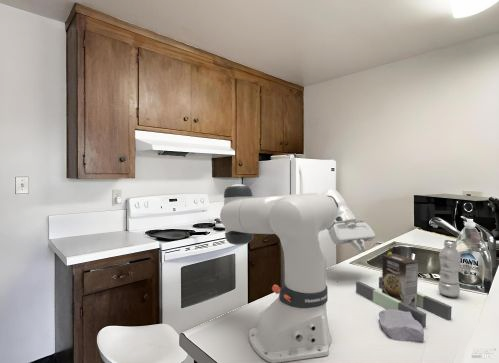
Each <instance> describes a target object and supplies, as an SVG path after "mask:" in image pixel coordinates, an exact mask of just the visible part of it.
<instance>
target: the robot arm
mask: <svg viewBox="0 0 499 363" xmlns="http://www.w3.org/2000/svg"><path fill="white" fill-rule="evenodd" d="M253 196H254V195H253V192H252V189H251V188H250V186H248V185H245V184H243V183H242V184H241V183H235V184H231V185H229V186H227V187H226V188H225V189H224V193H223V198H224V200H223V206H222V207H221V209H220V215H219V216H220V218H219V219H220V222H221V225H222V226H223V227H224V230H225V231H224V236H225V239H226V241H227V242H228V243H229V244H232V245H234V246H244V245H247V244H249V243H251V242H252V241H253V240H254V235H255V234H260V235H262V234H263V235H273V234H274V235H276V236H277V237H278V238H279V240H280V244H281V247H282V249H283V251H282V252H283V256H284V257H283V258H284V282H283V284H282V287H281V286H279V285H278V284H273V285H272V287H271V290H272V292H274V293H275V294H276V295H278V297H277V298H276V299H275V300H273V302H271V303H270V304H269V306H267V307H266V308H265V309H264V310H263V311H262V312H260V314H259V316H258V320H257V326H256V327H253V328H251V329H249V332H248V341H249V343H250V346H251V348H253V350H254V352H255V353H256V354H257V355H258V356H259V357H260V358H262V359H263V360H265V361H266V362H268V363H284V362H292V361H299V360H304V359H312V358H313V359H314V358H318V357H319V358H320V357H327V356H328V355H329V353H330V351H329V346H330V345H331V344H332V334H331V330H330V326H329V322H328V320H329V319H328V314H327V310H328V309H327V302H328V297H329V296H328V294H329V293H328V285H327V258H326V255H325V253H323V252H322V249H321V246H320V240H319V233H320V232H322V231H324V230H327V231H328V235H329V237H330V239H331V241H332V243H334V244H335V245H345V244H350V245H351V246H352V247H353V248H355V249H356V251H357V252H359V253H360V252H366V250H367V249H366V246H365V242H371V241H373V240H374V239H375V238H376V233H375V231H374V230H373V228H372V227H371V226H370V225H369V224H368V223H367V222H364V221H363V220H357V218H356V216H355V214H354V213H353V212H352V210H351V209H350V208H349V207H348V203H347V202H346V200H345V199H344V197H343V196H342V195H341V193H340V192H339V191H338V190H336V189H334V188H331V189H330V188H329V189H327V190H325V191H323V192H322V193H319V192H311V193H310V192H309V193H299V194H296V193H295V194H286V195H285V194H284V195H275V196H260V197H253Z"/></svg>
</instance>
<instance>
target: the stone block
mask: <svg viewBox="0 0 499 363" xmlns="http://www.w3.org/2000/svg"><path fill="white" fill-rule="evenodd" d="M378 318H379V323H380V325H381V328H382V329H383V333H384V334H385V335H386V336H387V337H389V339H392V340H394V341H400V342H413V343H414V342H415V343H416V342H420V343H423V342H424V340H425V339H424V338H425V337H424V336H425V332H424V328H423V327H422V326H421V324H420V323H419V322H418V321H417V320H415V319H414V318H413V317H412V314H411V313H410V312H404V311H400V310H393V309H392V310H391V309H382V310H381V311H379V312H378Z"/></svg>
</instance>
